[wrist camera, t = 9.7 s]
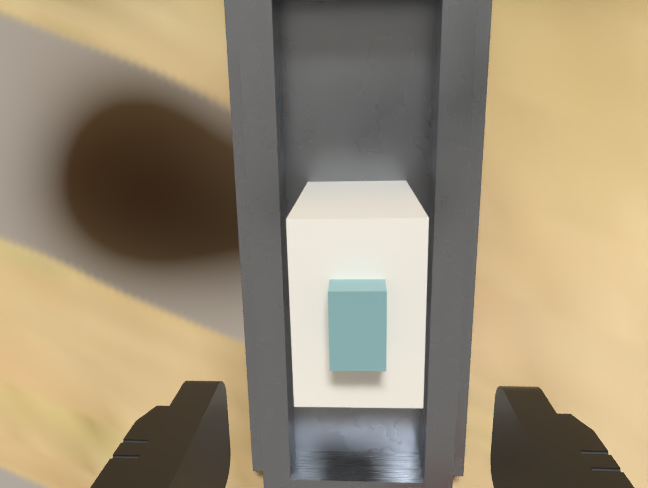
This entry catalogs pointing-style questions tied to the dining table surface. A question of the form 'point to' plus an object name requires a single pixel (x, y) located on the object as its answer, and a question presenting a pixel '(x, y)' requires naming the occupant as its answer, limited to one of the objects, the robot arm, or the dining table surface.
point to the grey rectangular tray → (358, 165)
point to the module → (358, 295)
